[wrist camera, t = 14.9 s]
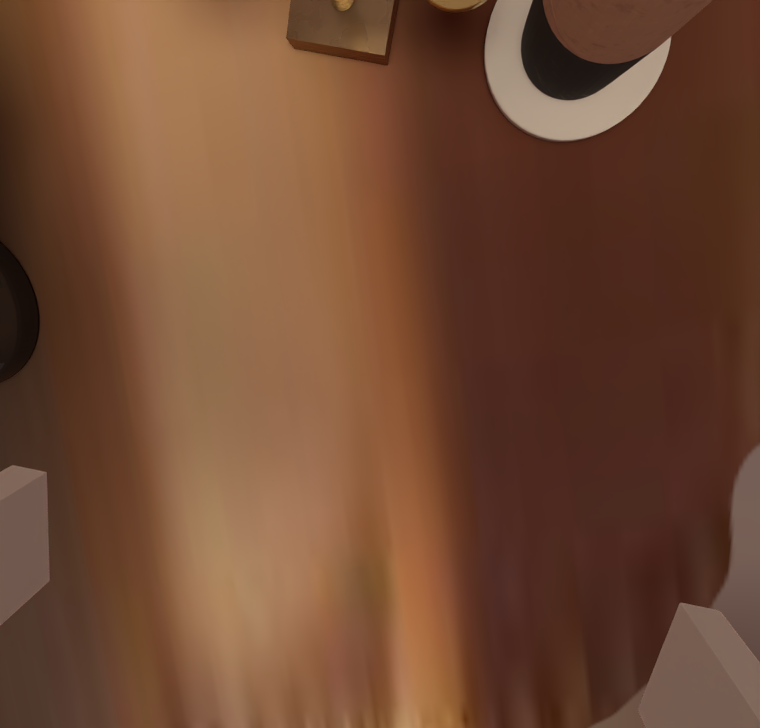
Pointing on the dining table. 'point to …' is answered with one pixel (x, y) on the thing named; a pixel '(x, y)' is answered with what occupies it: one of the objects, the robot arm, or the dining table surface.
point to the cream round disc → (548, 113)
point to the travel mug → (595, 40)
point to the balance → (353, 26)
